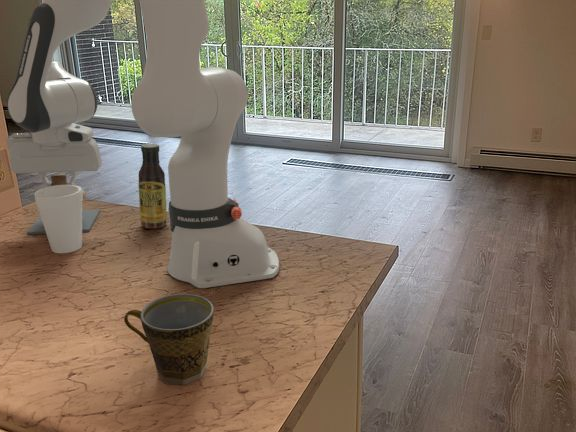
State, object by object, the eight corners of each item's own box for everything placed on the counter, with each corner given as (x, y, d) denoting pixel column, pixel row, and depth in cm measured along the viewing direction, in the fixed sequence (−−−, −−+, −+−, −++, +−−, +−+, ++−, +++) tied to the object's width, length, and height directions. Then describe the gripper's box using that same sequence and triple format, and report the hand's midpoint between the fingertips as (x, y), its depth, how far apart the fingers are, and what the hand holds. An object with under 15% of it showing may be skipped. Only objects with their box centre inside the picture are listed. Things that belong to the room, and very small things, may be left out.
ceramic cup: (224, 354, 84) (222, 296, 81) (204, 397, 75) (200, 333, 72) (143, 346, 86) (137, 289, 83) (114, 387, 77) (106, 324, 74)
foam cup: (79, 256, 118) (71, 198, 113) (36, 256, 118) (26, 198, 113) (95, 239, 127) (87, 184, 122) (54, 238, 127) (46, 184, 122)
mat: (100, 211, 144) (100, 209, 144) (89, 231, 131) (89, 229, 131) (44, 213, 142) (43, 211, 142) (27, 234, 129) (26, 231, 129)
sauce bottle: (138, 230, 132) (129, 148, 125) (144, 220, 137) (136, 142, 130) (166, 230, 132) (159, 148, 125) (170, 220, 137) (164, 142, 130)
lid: (90, 191, 140) (87, 168, 138) (80, 206, 130) (77, 181, 128) (44, 193, 139) (41, 170, 137) (31, 207, 129) (27, 183, 127)
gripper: (0, 136, 125) (10, 194, 129) (94, 134, 127) (101, 191, 132) (9, 130, 130) (19, 186, 135) (99, 128, 133) (105, 183, 138)
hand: (60, 189), depth 134 cm, fingers closed on lid, 3 cm apart
